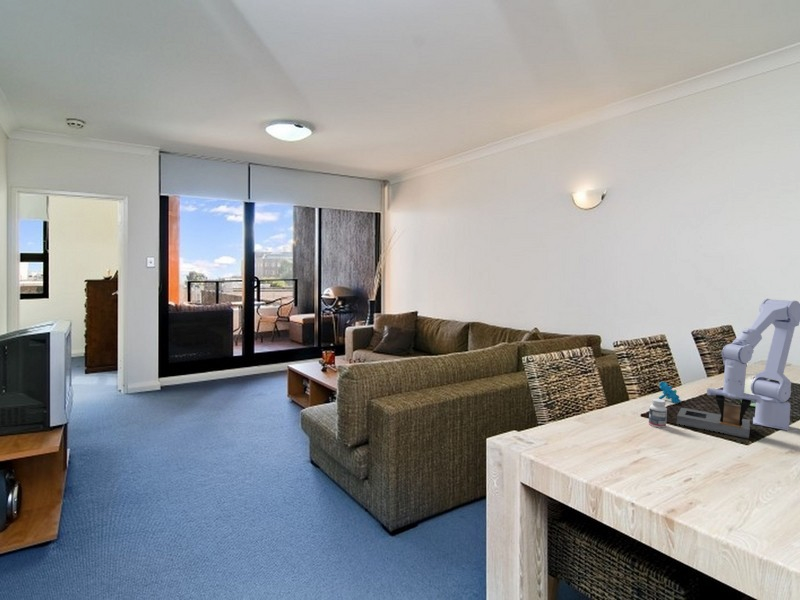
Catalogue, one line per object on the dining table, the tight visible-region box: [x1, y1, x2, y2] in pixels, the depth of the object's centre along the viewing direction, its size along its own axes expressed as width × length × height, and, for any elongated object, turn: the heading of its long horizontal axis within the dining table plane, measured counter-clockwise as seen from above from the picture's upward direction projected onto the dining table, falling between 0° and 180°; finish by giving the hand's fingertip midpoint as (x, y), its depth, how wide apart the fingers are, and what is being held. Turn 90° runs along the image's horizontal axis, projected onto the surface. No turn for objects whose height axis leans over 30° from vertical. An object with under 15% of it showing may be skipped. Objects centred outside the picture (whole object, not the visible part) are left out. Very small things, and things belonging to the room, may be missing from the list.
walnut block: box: [723, 402, 741, 425], centre depth 151 cm, size 4×4×7 cm
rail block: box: [676, 407, 751, 439], centre depth 155 cm, size 20×12×3 cm, turn 52°
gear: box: [658, 381, 681, 404], centre depth 184 cm, size 11×6×10 cm
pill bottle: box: [648, 398, 668, 429], centre depth 154 cm, size 5×5×9 cm
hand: (731, 419), depth 151 cm, fingers closed on walnut block, 4 cm apart
